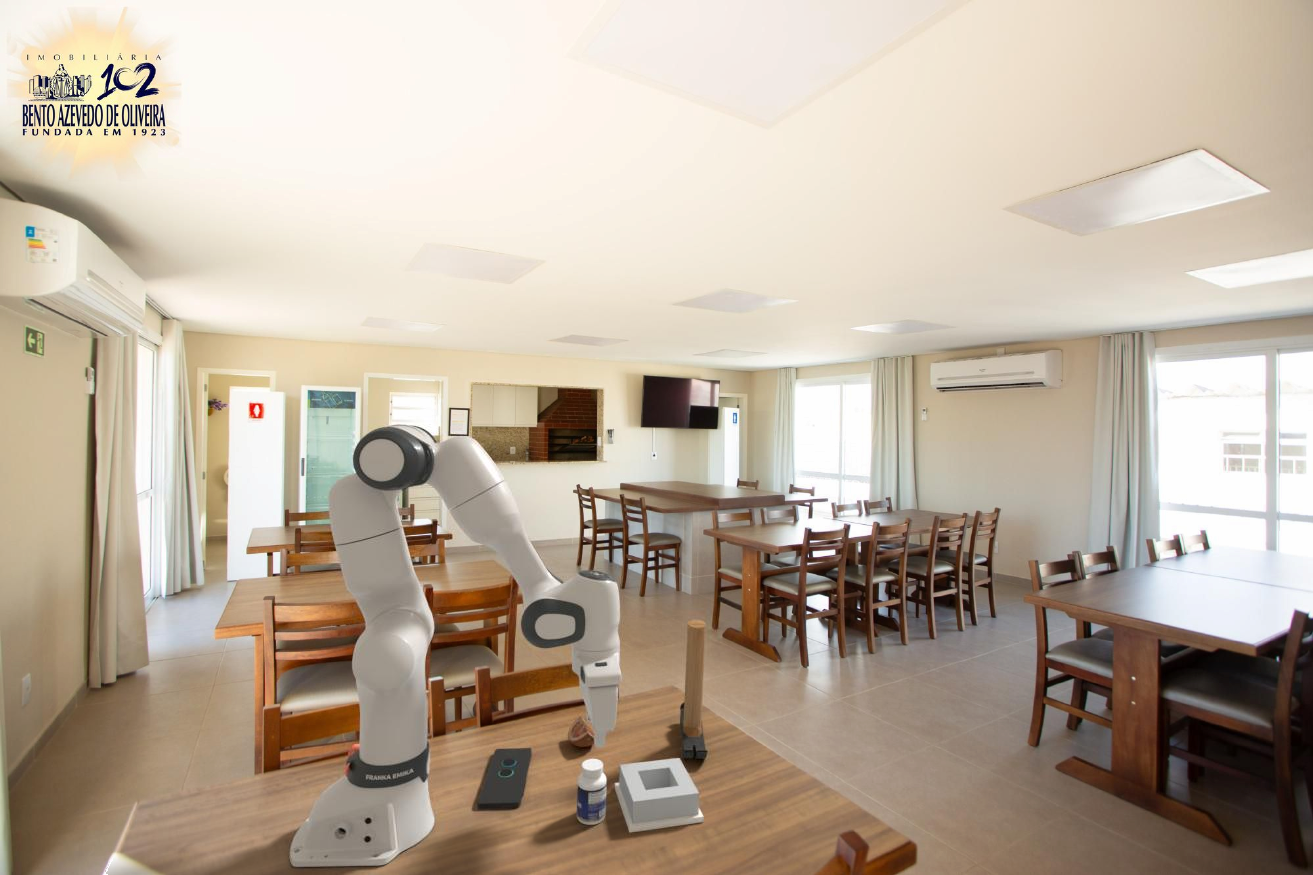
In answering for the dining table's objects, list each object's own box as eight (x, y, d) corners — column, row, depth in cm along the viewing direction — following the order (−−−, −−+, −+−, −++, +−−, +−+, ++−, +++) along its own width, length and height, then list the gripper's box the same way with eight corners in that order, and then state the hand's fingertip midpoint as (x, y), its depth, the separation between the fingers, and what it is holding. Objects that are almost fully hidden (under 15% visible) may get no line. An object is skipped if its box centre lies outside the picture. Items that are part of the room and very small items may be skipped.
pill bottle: (573, 811, 113) (574, 759, 113) (600, 805, 115) (601, 754, 115) (581, 828, 108) (582, 774, 108) (609, 822, 110) (610, 768, 110)
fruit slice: (600, 753, 134) (601, 730, 134) (570, 757, 132) (571, 734, 132) (593, 735, 142) (593, 714, 142) (565, 738, 140) (565, 717, 140)
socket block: (629, 832, 107) (630, 804, 107) (614, 787, 121) (615, 763, 121) (703, 821, 111) (704, 794, 111) (681, 779, 124) (681, 755, 124)
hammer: (706, 774, 130) (712, 647, 125) (683, 774, 130) (688, 647, 125) (699, 715, 150) (704, 604, 145) (679, 715, 150) (683, 603, 145)
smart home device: (532, 747, 133) (520, 801, 113) (532, 754, 133) (520, 810, 113) (494, 747, 133) (476, 802, 113) (494, 755, 133) (475, 812, 113)
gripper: (572, 641, 121) (571, 710, 121) (586, 682, 101) (586, 764, 101) (603, 639, 122) (602, 706, 122) (623, 678, 103) (622, 759, 103)
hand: (595, 733), depth 112 cm, fingers open, 8 cm apart
